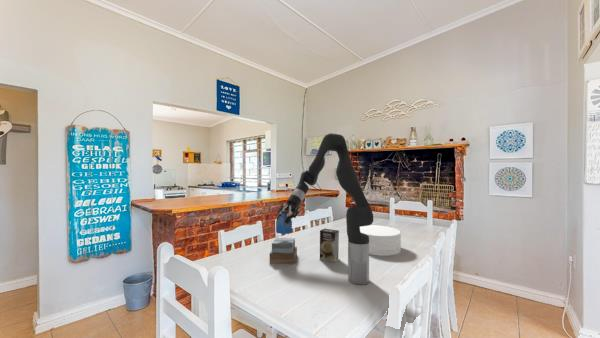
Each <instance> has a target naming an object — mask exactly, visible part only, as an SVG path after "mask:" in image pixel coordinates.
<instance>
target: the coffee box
mask: <svg viewBox="0 0 600 338" xmlns="http://www.w3.org/2000/svg"><path fill="white" fill-rule="evenodd" d="M339 233H340V231H339V230H337V229H330V228H322V229H320V230H319V260H320V261H325V262H330V263H336V262H338V260H339V255H340V254H339V239H340V237H339V236H340V234H339Z"/></svg>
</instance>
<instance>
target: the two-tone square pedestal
mask: <svg viewBox="0 0 600 338" xmlns="http://www.w3.org/2000/svg"><path fill="white" fill-rule="evenodd" d="M297 255H298V247H297V246H296V238H295V237H294V238H292V237H290V238H289V237H275V239H274V240H273V241H272V242H271V250H270V252H269V264H288V265H289V264H290V265H293V264H295V261H296V259H297V257H298V256H297Z"/></svg>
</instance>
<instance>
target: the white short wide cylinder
mask: <svg viewBox="0 0 600 338" xmlns="http://www.w3.org/2000/svg"><path fill="white" fill-rule="evenodd" d="M360 232H361V233H364V234H366V235H368V236H369V255H372V256H381V257H383V256H384V257H385V256H395V255H399V254H400V253H401V251H402V249H401V248H402V247H401V245H402V244H401V243H402V242H401V241H402V240H401V234H402V233H401V231H400V230H399V229H397V228H395V227H392V226H391V227H390V226H386V225H378V224H377V225H376V224H374V225H373V224H371V225H369V226H361V227H360Z"/></svg>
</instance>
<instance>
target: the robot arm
mask: <svg viewBox="0 0 600 338" xmlns="http://www.w3.org/2000/svg"><path fill="white" fill-rule="evenodd" d="M320 142H321V143H320V145H319V146H318V150H317V152H316V155H315V156H314V157H315V158H314V159H313V161H312V162H311V164H310V165H309V167H308V169H304V170H303V171H302V172H301V174H300V178H299V180H298V181H299V182H298V183H297V186H296V187H295V188H294V190H293V191H292V193H291V194H290V195H289V197H288V199H287V200H286V204H284V205H283V204H280V207H279V209H278V210H277V214H278V216H276V221H277V219H278V218H279V217H281V213H282V212H281V211H282V210H286V211H287V214H288V215H287V216H288V217H287V219H286V220H285V222H286V223H287V224H288V223H289V222H290V220H292V219H294V218H295V219H296V218H297V216H298V215H299V214H300V212H301V208H300V206H301V204H302V202H303V201H304V199H305V196H306V195H307V193H308V191H309V189H310V188H309V186H311V187H312V186H315V185H316V184H317V182H318V177H319V176H320V173H321V171H322V170H323V169H324V167H325V164H326V158H325V155H326V154H327V152H336V154H337V156H338V157H337V158H338V163H337V167H336V171H335V174H336V177H337V180H338V184H339V185H340V187H341V188H342V190H344V191H345V193H346V194H348V195H349V196H350V198H352V200H353V201H354V203H355V205H353V206H349V207H348V208H347V210H346V212H345V213H346V214H345V216H346V217H345V220H346V222H345V223H346V234H347V251H348V252H347V280H348V281H349V282H350V283H352V284H353V285H368V283H369V282H370V254H369V236H368V235H366V234H364V233H361V232H360V227H361V226H369V225H373V223H374V213H373V210H372V208H371V206H370V204H369V200H367V197H366V196H365V193H364V191H363V189H362V186H361V184H360V181H359V178H358V176H357V173H356V170H355V168H354V165H353V162H352V160H351V156H350V153H349V149H348V146H347V142H346V139H345V137H344V135H341V134H338V133H331V132H330V133H326V134H325V135H324V136H323V138H322V141H320Z"/></svg>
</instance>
